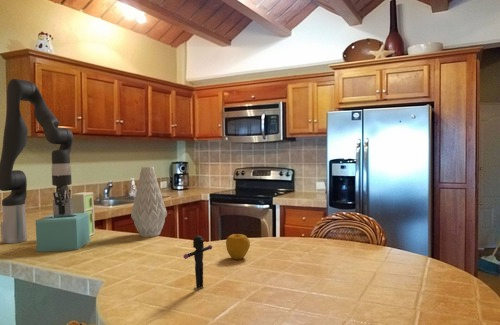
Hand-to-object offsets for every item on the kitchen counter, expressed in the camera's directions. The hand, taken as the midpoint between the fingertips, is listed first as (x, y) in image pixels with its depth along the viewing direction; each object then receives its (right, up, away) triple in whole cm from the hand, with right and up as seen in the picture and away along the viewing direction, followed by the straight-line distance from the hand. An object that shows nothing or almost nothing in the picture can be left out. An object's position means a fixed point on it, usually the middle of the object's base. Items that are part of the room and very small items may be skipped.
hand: (63, 213), depth 164 cm
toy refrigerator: (0, -14, +20) cm, 25 cm away
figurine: (+67, -14, -57) cm, 89 cm away
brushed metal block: (0, -1, 0) cm, 1 cm away
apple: (+77, -13, -27) cm, 82 cm away
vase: (+33, -13, +18) cm, 39 cm away
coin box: (+1, -14, 0) cm, 14 cm away
